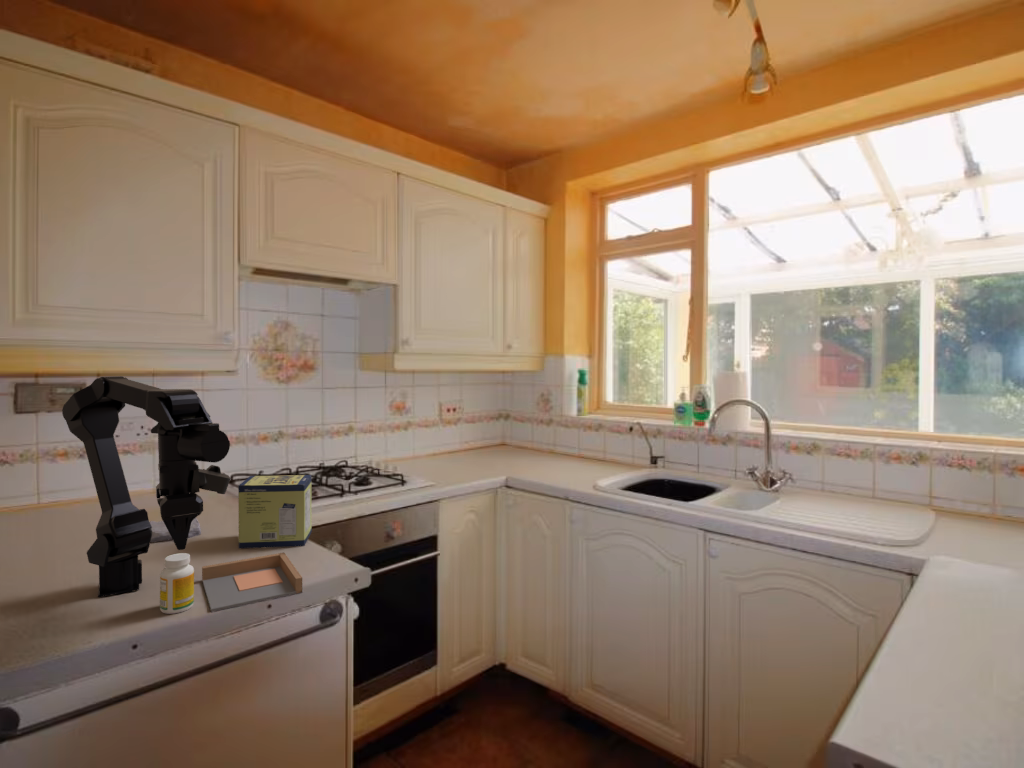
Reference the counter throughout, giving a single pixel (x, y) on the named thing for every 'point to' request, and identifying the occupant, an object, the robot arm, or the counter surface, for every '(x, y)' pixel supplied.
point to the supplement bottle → (177, 584)
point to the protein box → (274, 511)
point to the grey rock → (163, 534)
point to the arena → (250, 581)
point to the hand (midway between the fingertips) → (179, 542)
